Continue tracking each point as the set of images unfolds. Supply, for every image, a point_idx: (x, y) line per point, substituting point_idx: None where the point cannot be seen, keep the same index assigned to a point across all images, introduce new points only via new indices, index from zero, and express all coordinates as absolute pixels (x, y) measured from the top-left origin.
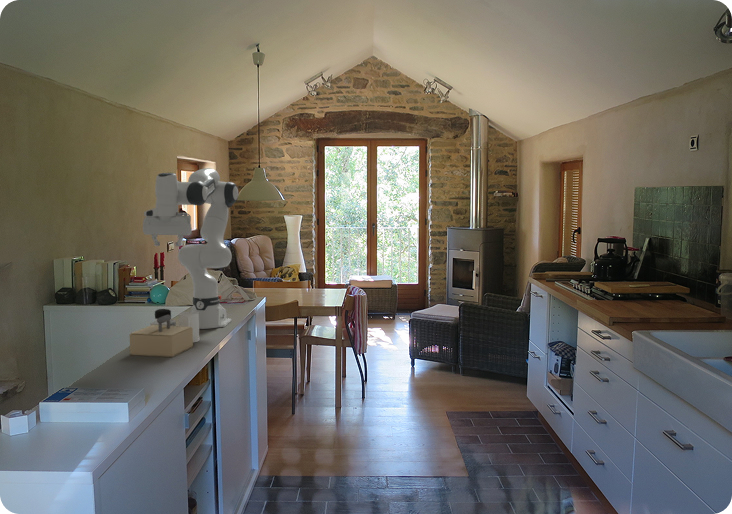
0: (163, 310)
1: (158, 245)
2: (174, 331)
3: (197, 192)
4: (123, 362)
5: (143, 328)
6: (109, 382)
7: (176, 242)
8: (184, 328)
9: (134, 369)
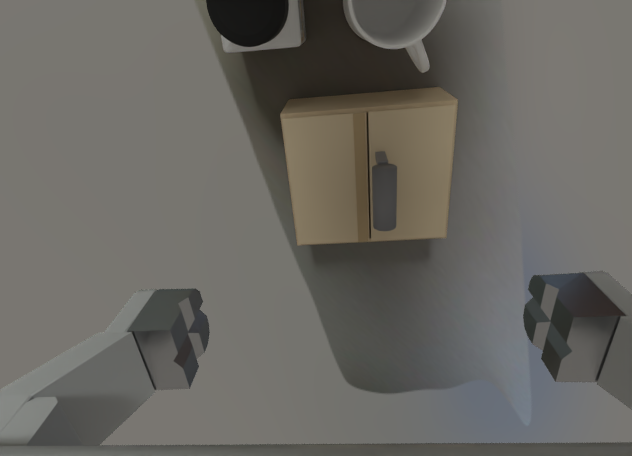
0: (262, 24)
1: (196, 312)
2: (427, 191)
3: None
4: (335, 274)
5: (292, 180)
6: (397, 372)
7: (576, 376)
8: (441, 139)
9: (395, 308)
